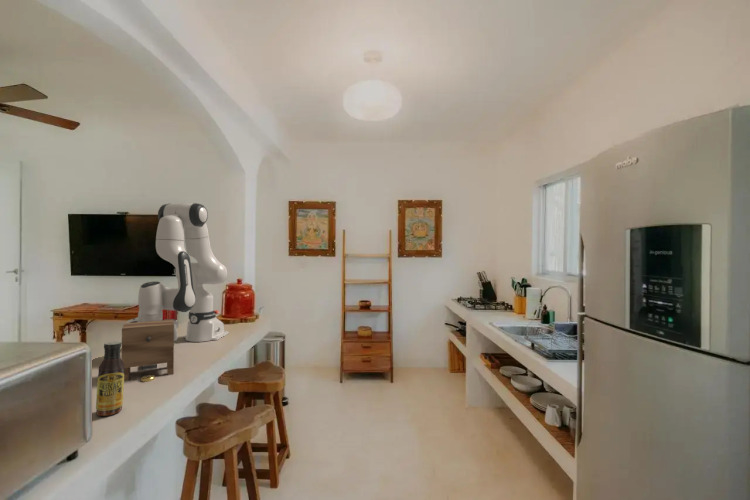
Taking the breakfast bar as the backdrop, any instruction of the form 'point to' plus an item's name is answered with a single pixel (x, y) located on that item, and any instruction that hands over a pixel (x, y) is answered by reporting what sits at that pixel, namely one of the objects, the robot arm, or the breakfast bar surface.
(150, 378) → the brass disc
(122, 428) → the breakfast bar surface
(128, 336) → the walnut cabinet
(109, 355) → the sauce bottle
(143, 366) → the scraper
